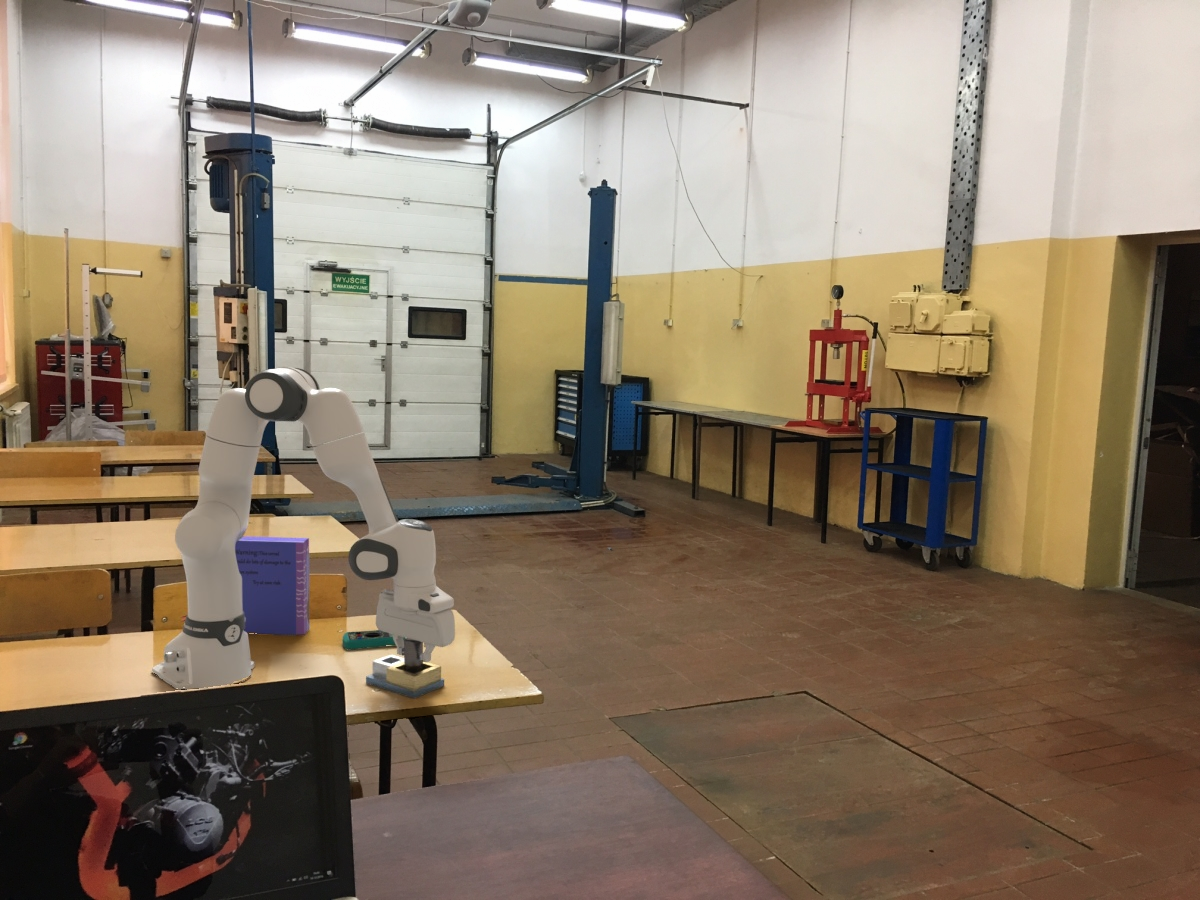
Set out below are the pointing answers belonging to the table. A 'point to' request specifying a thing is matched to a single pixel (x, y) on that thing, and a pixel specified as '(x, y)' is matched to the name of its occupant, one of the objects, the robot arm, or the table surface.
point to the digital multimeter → (367, 639)
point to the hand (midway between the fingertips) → (413, 657)
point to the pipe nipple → (413, 656)
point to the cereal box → (274, 584)
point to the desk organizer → (404, 677)
